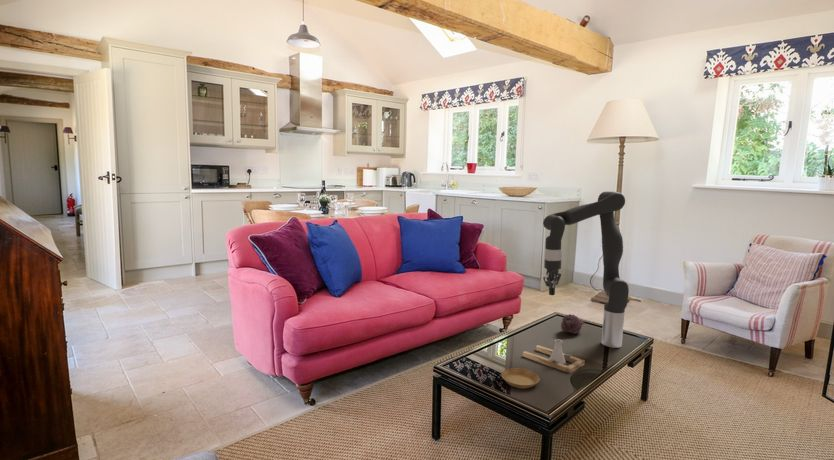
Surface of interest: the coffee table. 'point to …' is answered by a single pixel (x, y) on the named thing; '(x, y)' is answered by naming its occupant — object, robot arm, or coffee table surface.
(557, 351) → the flask
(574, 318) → the pine cone
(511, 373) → the plant saucer
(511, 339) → the coffee table surface
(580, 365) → the beam channel
